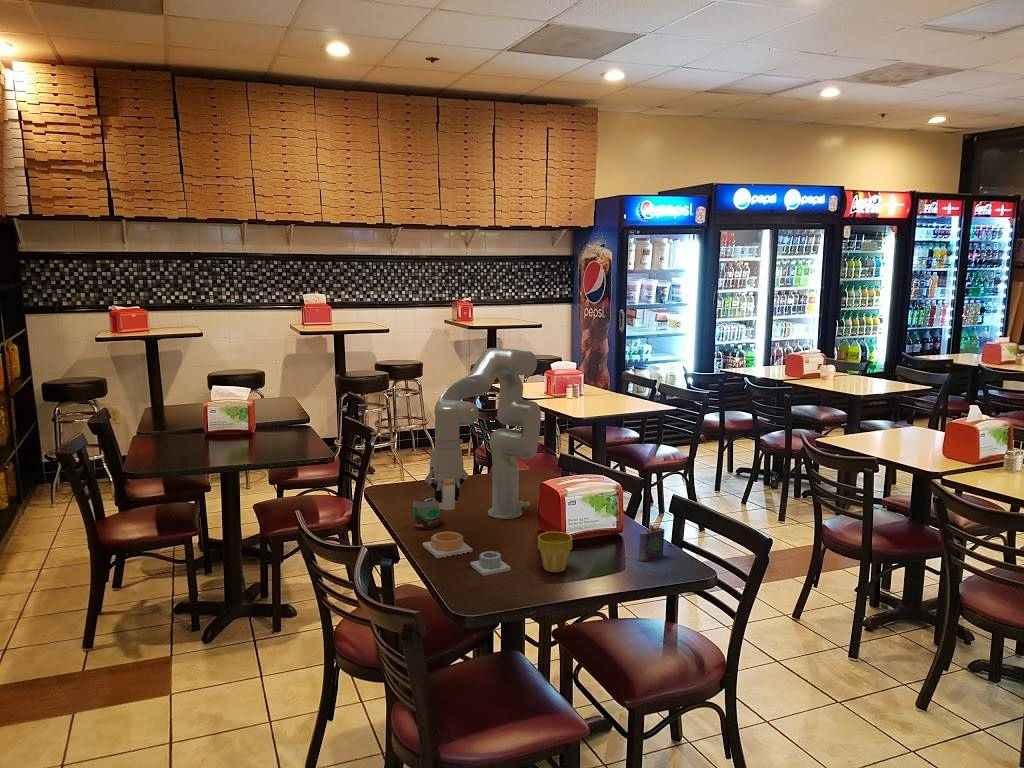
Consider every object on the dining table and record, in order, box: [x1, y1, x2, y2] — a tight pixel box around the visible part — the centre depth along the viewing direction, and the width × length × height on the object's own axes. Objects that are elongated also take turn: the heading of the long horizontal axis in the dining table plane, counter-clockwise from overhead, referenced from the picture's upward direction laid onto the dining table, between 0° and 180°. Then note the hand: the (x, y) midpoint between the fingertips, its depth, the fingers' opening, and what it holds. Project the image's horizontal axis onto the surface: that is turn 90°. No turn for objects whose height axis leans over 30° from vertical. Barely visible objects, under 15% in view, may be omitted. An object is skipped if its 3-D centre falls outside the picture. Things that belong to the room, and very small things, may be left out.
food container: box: [412, 495, 441, 530], centre depth 259 cm, size 12×6×10 cm, turn 143°
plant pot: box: [537, 531, 573, 573], centre depth 224 cm, size 10×10×10 cm
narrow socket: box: [469, 550, 512, 577], centre depth 224 cm, size 9×9×4 cm
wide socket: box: [422, 530, 473, 559], centre depth 239 cm, size 12×12×4 cm
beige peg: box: [439, 478, 456, 511], centre depth 236 cm, size 5×5×10 cm
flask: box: [638, 523, 665, 562], centre depth 233 cm, size 9×3×11 cm, turn 121°
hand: (446, 500), depth 236 cm, fingers closed on beige peg, 5 cm apart
